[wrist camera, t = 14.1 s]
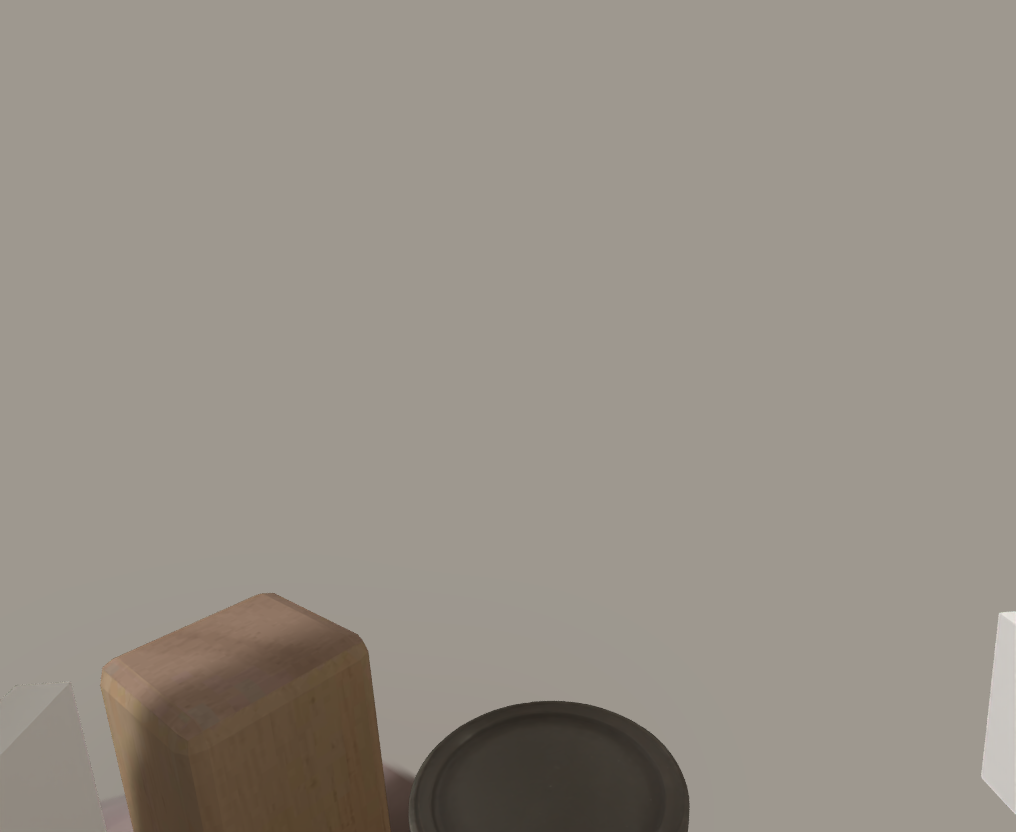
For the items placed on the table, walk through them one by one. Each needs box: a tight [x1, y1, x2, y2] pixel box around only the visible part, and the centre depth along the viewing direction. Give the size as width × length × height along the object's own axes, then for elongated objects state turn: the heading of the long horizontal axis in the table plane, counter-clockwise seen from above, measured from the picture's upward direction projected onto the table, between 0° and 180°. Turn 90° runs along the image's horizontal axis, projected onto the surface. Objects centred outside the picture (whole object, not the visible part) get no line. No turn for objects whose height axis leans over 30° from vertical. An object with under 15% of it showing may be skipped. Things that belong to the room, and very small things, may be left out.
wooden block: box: [100, 593, 391, 832], centre depth 38 cm, size 10×10×20 cm
